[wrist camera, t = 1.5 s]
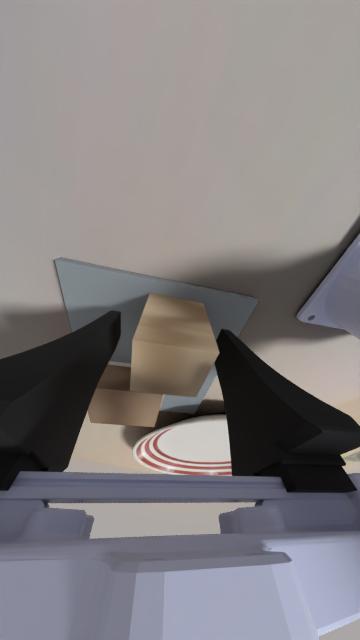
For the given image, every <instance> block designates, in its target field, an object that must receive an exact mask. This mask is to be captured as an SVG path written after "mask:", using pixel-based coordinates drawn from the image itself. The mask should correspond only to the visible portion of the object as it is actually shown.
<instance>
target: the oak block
mask: <svg viewBox="0 0 360 640" xmlns="http://www.w3.org/2000/svg"><path fill="white" fill-rule="evenodd" d="M218 355H219V350H218V346H217V343H216V340H215V337H214V334H213V331H212V328H211V325H210V322H209V318H208V315H207V312H206V309H205V306H204V303H200V302H195V301H190V300H185V299H180V298H174V297H169V296H164V295H159V294H153V293H150V294H149V297H148V299H147V302H146V305H145V308H144V310H143V313H142V316H141V318H140V321H139V324H138V327H137V329H136V332H135V335H134V337H133V342H132V360H131V378H130V391H136V392H145V393H155V394H165V395H175V396H185V397H195V398H196V397H197V395H198V393H199V391H200V389H201V387H202V385H203V384H204V382H205V380H206V378H207V376H208V374H209V372H210V370H211V368H212V366H213V364H214V362H215V360H216V358H217V357H218Z"/></svg>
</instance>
